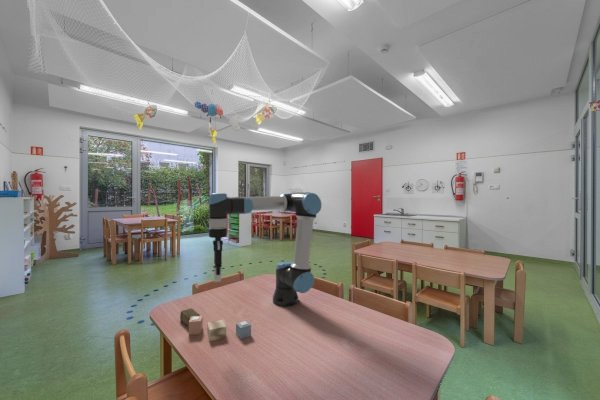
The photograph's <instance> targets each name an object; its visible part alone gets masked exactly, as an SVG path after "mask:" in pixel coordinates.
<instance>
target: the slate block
mask: <svg viewBox="0 0 600 400" xmlns="http://www.w3.org/2000/svg"><path fill="white" fill-rule="evenodd" d="M235 334H236V336H237V337H238V339H239V340H243V339H245V338H247V337H250V336H252V324H251V323H250V321H248V320H246V319H245V320H242V321H240V322H236V323H235Z"/></svg>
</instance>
